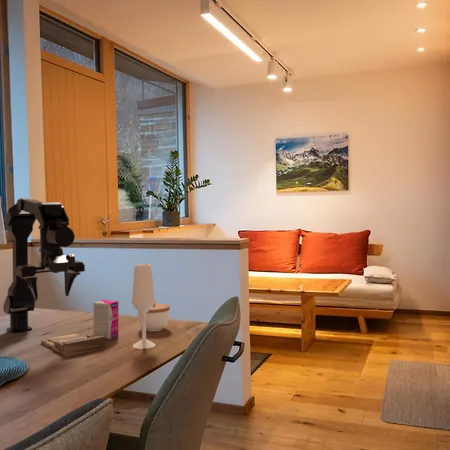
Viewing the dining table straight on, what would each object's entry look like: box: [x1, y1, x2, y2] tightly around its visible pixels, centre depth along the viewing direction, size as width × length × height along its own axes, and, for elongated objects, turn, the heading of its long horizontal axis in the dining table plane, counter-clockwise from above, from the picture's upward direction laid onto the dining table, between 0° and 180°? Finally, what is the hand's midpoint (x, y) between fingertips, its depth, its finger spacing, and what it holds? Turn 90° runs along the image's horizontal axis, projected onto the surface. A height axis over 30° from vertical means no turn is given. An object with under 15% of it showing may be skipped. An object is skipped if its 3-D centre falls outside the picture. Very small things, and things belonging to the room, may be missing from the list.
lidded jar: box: [137, 302, 171, 333], centre depth 174 cm, size 11×11×9 cm
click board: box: [40, 333, 106, 357], centre depth 155 cm, size 18×12×4 cm, turn 40°
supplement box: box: [92, 299, 119, 341], centre depth 164 cm, size 6×6×12 cm
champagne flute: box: [131, 263, 156, 350], centre depth 154 cm, size 7×7×24 cm
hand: (51, 297), depth 154 cm, fingers open, 9 cm apart
